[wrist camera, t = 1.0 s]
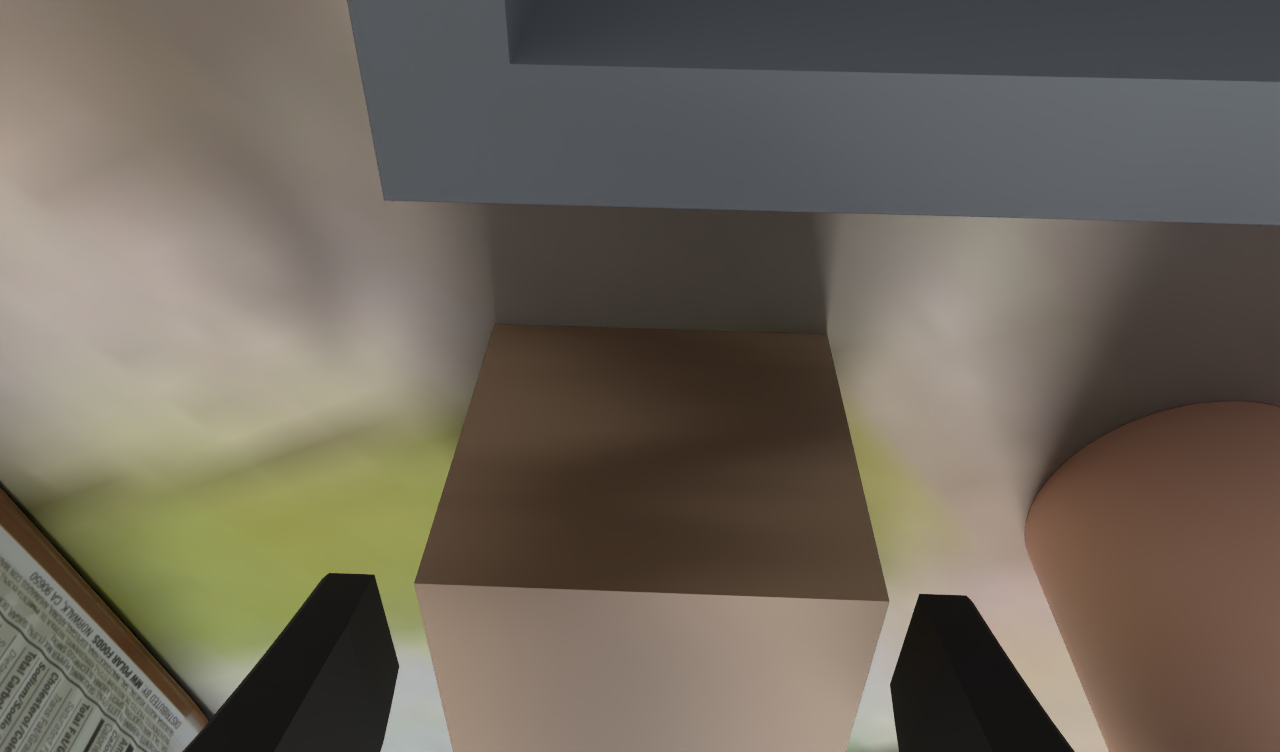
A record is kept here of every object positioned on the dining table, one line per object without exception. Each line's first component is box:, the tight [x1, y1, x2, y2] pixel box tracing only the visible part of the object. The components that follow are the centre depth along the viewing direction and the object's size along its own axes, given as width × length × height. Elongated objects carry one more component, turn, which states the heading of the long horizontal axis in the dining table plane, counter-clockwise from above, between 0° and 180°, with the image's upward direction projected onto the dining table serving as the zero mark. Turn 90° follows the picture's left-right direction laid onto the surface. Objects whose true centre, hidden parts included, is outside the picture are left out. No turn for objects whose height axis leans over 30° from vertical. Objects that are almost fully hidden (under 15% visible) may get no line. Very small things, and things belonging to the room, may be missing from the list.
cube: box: [414, 324, 889, 752], centre depth 13 cm, size 5×5×5 cm
